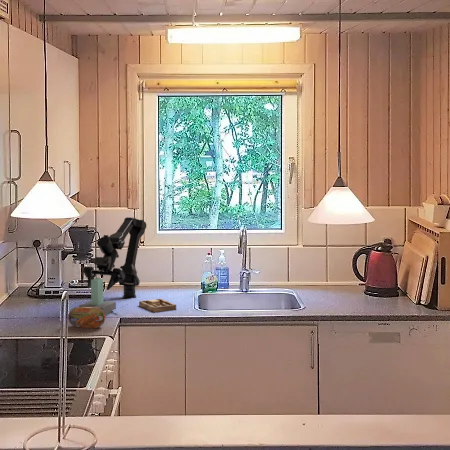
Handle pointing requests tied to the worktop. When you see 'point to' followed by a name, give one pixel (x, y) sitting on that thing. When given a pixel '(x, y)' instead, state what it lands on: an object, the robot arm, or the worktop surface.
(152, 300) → the offcut upper
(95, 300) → the mint green block
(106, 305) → the plinth
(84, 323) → the tin
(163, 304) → the rack
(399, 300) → the worktop surface
